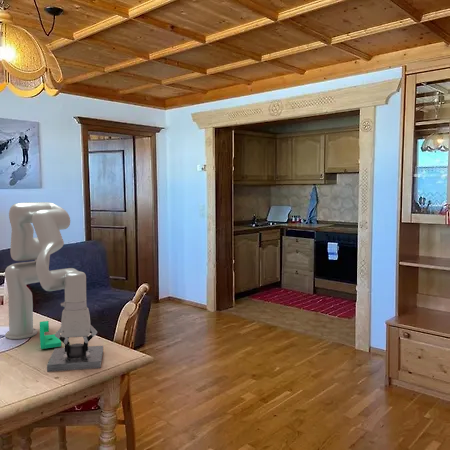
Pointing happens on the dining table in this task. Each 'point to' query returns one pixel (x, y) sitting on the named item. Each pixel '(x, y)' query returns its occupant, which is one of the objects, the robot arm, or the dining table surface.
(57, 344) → the camera mount
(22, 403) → the dining table surface
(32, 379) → the dining table surface
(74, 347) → the dark gray cylinder
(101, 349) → the mount plate
